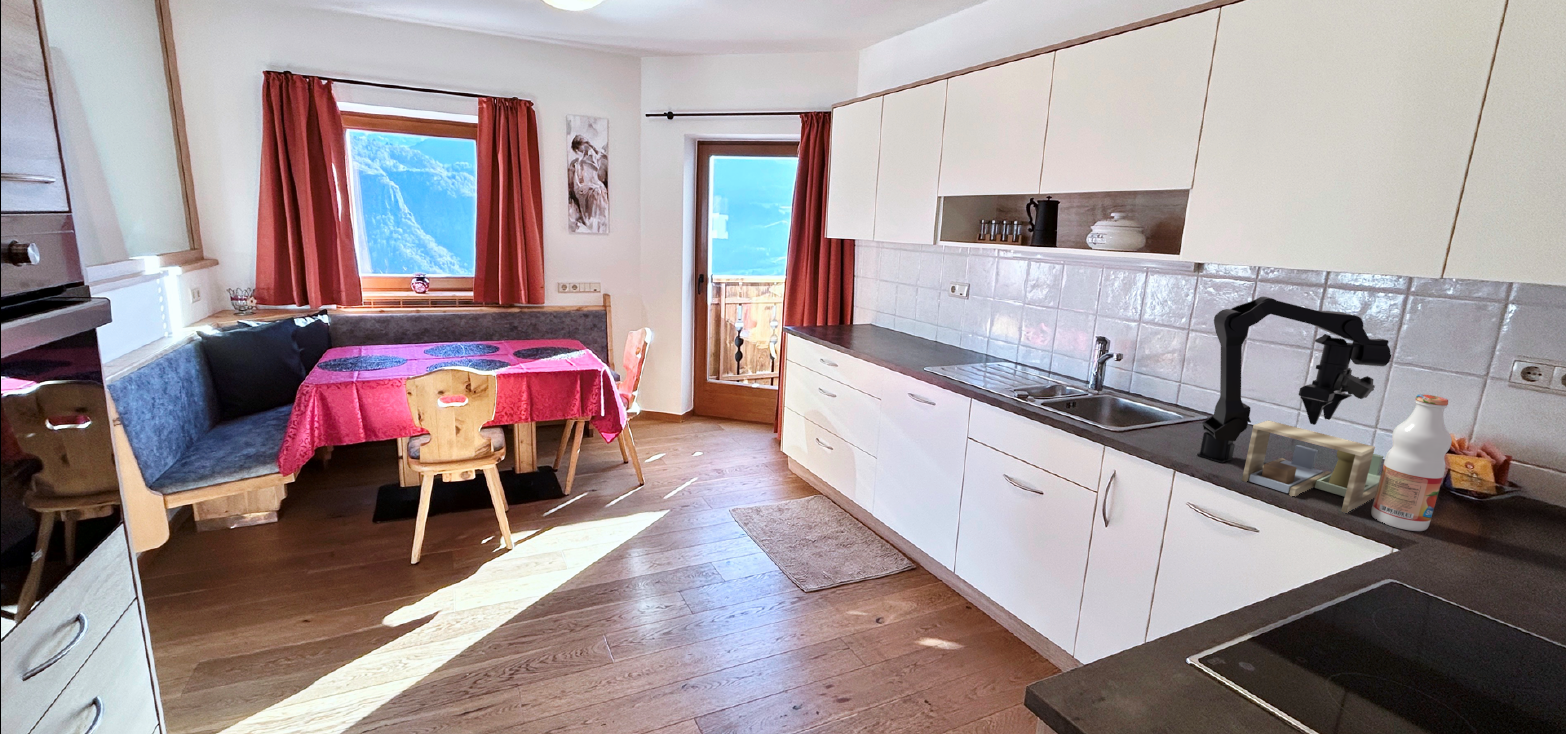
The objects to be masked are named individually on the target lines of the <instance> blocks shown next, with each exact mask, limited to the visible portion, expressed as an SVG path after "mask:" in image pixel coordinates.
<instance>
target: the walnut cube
mask: <svg viewBox="0 0 1566 734" xmlns="http://www.w3.org/2000/svg"><path fill="white" fill-rule="evenodd" d="M1263 465H1264V467H1263V472H1262V477H1265V478H1269V479H1272V480H1275V481H1278V482H1282V483H1285V484H1288V485H1289V484H1292V483H1293V482H1294V478H1295V473H1296V469H1297V467H1294V466H1290V465H1287V464H1283V463H1280V462H1276V461H1275V460H1271V461H1268V462H1265V463H1264V464H1263Z"/></svg>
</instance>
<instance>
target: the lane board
mask: <svg viewBox="0 0 1566 734" xmlns="http://www.w3.org/2000/svg"><path fill="white" fill-rule="evenodd" d="M1271 434H1274V435H1278V436H1281V437H1282V436H1283V437H1286V438H1290V439H1293V440H1296V441H1297V440H1298V441H1301V442H1305V443H1309V444H1313V445H1316V446H1320V447H1324V448H1327V449H1332V450H1336V451H1338V450H1339V451H1343V452H1347V453H1351V454H1355V458H1354V462H1353V466H1352V470H1351V474H1350V478H1349V482H1348V486H1347V490H1346V494H1345V497H1344V498H1343V503H1342V507H1341V511H1342V512H1345V513H1347V514H1349V513H1350V512H1349V511H1351V510H1352V509H1354V510H1356V509H1358V508H1359V507H1358V506H1360V505H1361V506H1363V505H1365V504H1366V502H1367V501H1368V502H1370V501H1371V499H1372V500H1374V499H1375V495H1376V491H1377V487H1378V485H1377V486H1375V487H1373V488H1371V489H1369V490H1368V491H1366V492H1364V488H1365V484H1366V480H1367V476H1368V472H1369V469H1370V465H1371V461H1372V457H1373V454H1375V453H1374V452H1375V450H1376V449H1375V448H1376V447H1375V446H1374V445H1369V444H1366V443H1362V442H1358V441H1354V440H1350V439H1346V438H1341V437H1337V436H1335V435H1331V434H1325V433H1322V432H1318V431H1317V432H1316V431H1313V430H1310V429H1306V428H1305V429H1304V428H1300V427H1298V426H1293V425H1289V424H1285V423H1281V422H1277V421H1273V420H1265V421H1262V422H1258V423H1256V424H1253V427H1252V430H1251V437H1250V441H1249V444H1248V450H1247V455H1246V459H1245V465H1244V469H1243V473H1242V477H1241V481H1242V482H1245V483H1248V482H1250V481H1249V479H1250V475H1251V474H1252V473H1255V472H1257V471H1260V470H1262V469H1263V467H1264V464H1265V460H1266V454H1267V450H1268V445H1269V441H1270V435H1271ZM1285 460H1287V459H1286V458H1283V457H1280V458H1278V459H1275V460H1274V461H1276V462H1282V461H1285ZM1332 473H1333V471H1328V470H1326V471H1323V473H1321V474H1319V475H1317V476H1315V477H1313V478H1311V479H1308V480H1306V481H1304V482H1302V483H1300V484H1298V485H1295V486H1293V487H1291V489H1290V493H1288V496H1289V495H1290V496H1289V497H1292V496H1295V497H1298V496H1300V495H1301V494H1300V493H1302V492H1304V493H1306V492H1308V491H1309V489H1310V490H1312V489H1313V488H1312V487H1314V488H1315V485H1316V481H1317V480H1319V479H1321V478H1323V477H1325V476H1327V475H1330V474H1332ZM1247 481H1248V482H1247ZM1311 488H1312V489H1311ZM1307 490H1308V491H1307ZM1305 491H1306V492H1305ZM1363 492H1364V493H1363ZM1299 494H1300V495H1299ZM1302 494H1303V493H1302ZM1373 498H1374V499H1373ZM1369 500H1370V501H1369ZM1368 502H1367V503H1368ZM1364 503H1365V504H1364ZM1362 504H1363V505H1362ZM1361 506H1360V507H1361ZM1357 507H1358V508H1357ZM1355 508H1356V509H1355ZM1341 511H1340V512H1341ZM1342 512H1341V513H1342ZM1348 512H1349V513H1348ZM1351 512H1352V511H1351ZM1345 513H1344V514H1345Z"/></svg>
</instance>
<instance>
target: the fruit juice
mask: <svg viewBox="0 0 1566 734" xmlns="http://www.w3.org/2000/svg"><path fill="white" fill-rule="evenodd" d="M1415 403H1416V404H1415V406H1414V409H1413V410H1412V412H1411V414H1410V415H1409V416H1408V417H1407V418H1406V419H1405V420H1404V421H1402V422H1401V423H1399V424H1397V425H1396V427H1395V428H1394V429H1393V431H1392V434H1391V435H1392V436H1391V438H1392V447H1391V448H1390V449H1389V450H1388V451H1387V453H1386V456H1385V458H1384V459H1383V460H1384V461H1383V463H1382V464H1383V465H1382V469H1381V471H1380V472H1381V473H1380V475H1381V476H1380V480H1379V484H1378V487H1377V491H1376V495H1375V498H1374V499H1373V503H1372V507H1371V516H1372V518H1374V519H1375V520H1376V519H1377V520H1376V521H1378V522H1380V523H1382V522H1383V523H1382V524H1384V523H1385V524H1384V525H1387V526H1390V527H1393V528H1395V529H1396V528H1397V529H1399V530H1400V529H1401V530H1403V531H1404V530H1406V531H1413V532H1423V531H1424V532H1425V531H1426V530H1427V529H1428V528H1429V526H1430V525H1431V520H1432V516H1433V513H1434V509H1435V506H1436V504H1437V503H1436V502H1437V499H1438V496H1439V492H1440V488H1441V485H1442V481H1443V478H1444V475H1445V472H1446V471H1445V470H1446V460H1445V455H1446V454H1447V453H1448V451H1449V450H1450V448H1451V446H1452V442H1453V441H1452V435H1451V433H1450V431H1448V429H1447V428H1446V425H1445V420H1444V418H1445V417H1444V411H1445V409H1446V408H1447V407H1448V405H1449V399H1447V398H1445V397H1442V396H1437V395H1431V394H1425V393H1424V394H1421V393H1420V394H1417V395H1416V397H1415Z"/></svg>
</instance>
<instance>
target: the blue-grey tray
mask: <svg viewBox="0 0 1566 734" xmlns="http://www.w3.org/2000/svg"><path fill="white" fill-rule="evenodd" d="M1318 453H1319V449H1314V448H1312V447H1308V446H1304V445H1300V444H1297V445H1296V444H1295V447H1294V451H1293V455H1292V459H1291V461H1290V460H1287V459H1286V460H1285V461H1282V462H1280V463H1283V464H1287V465H1290V466H1294V467H1297V469H1296V473H1295V478H1294V482H1293V483H1292V484H1289V485H1288V484H1285V483H1282V482H1278V481H1275V480H1272V479H1269V478H1265V477H1262V472H1263V469H1262V470H1260V471H1257V472H1255V473H1252V474H1251V475H1250V479H1249V481H1248V482H1250V483H1254V484H1256V485H1260V486H1263V487H1266V488H1270V489H1273V490H1276V491H1279V492H1282V493H1284V494H1289V493H1290V489H1291V487H1293V486H1295V485H1298V484H1300V483H1302V482H1304V481H1306V480H1308V479H1311V478H1313V477H1315V476H1317V475H1319V474H1321V473H1324V470H1321V469H1318V468H1315V466H1316V463H1317V459H1318Z"/></svg>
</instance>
